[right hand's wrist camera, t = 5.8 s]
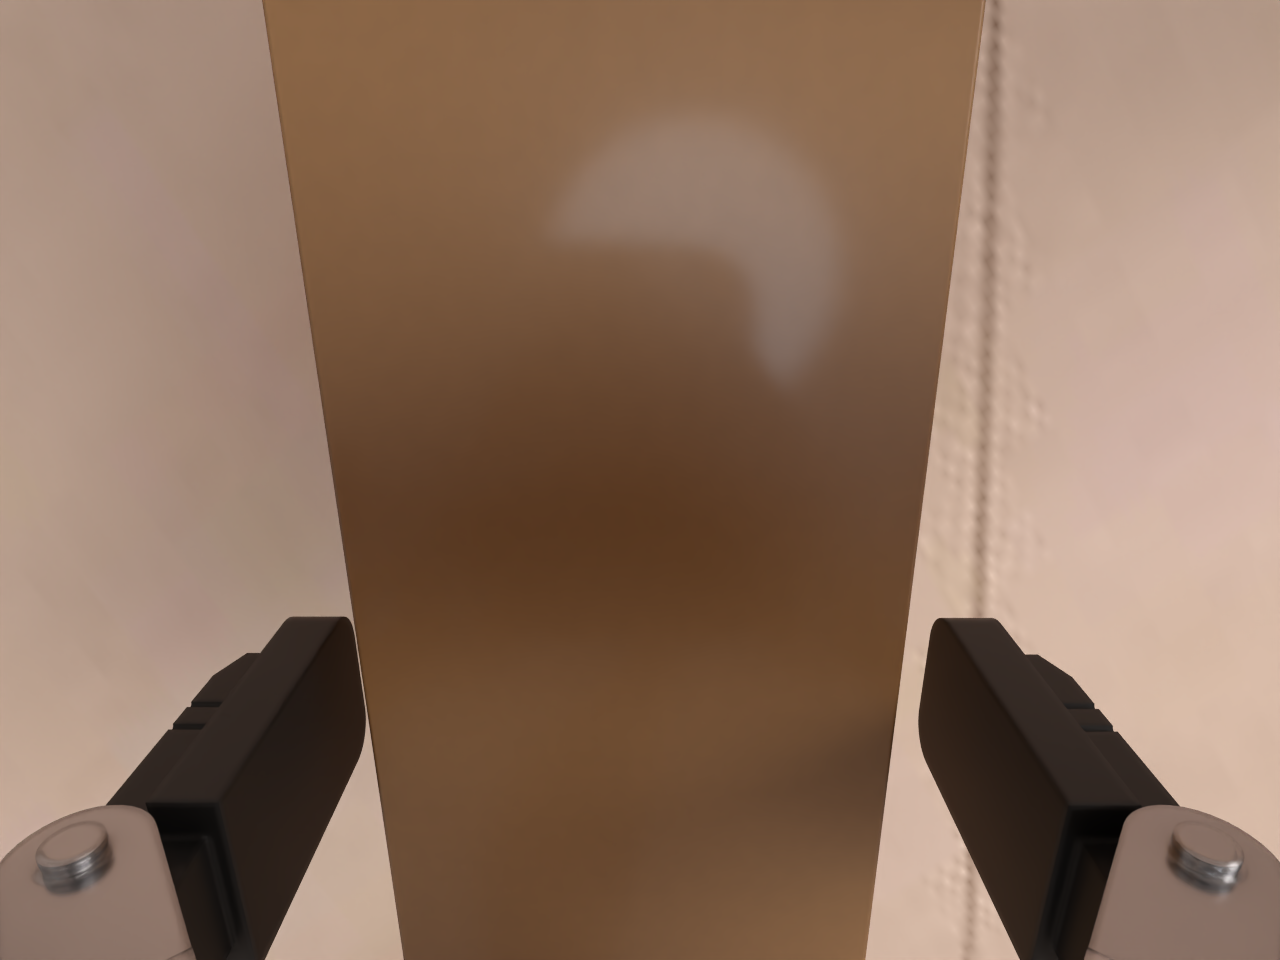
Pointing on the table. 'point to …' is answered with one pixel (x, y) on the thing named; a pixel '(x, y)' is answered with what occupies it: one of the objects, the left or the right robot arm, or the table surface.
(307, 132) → the box
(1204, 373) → the table surface
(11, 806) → the table surface
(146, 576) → the table surface
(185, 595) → the table surface
